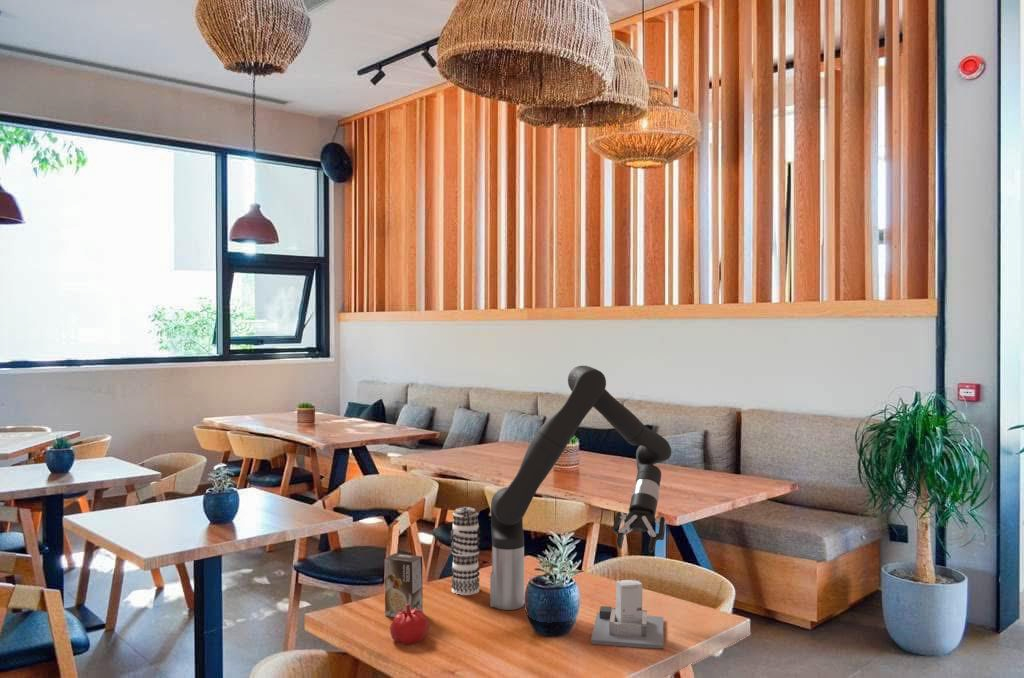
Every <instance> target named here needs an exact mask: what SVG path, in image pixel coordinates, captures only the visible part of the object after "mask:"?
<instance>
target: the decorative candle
mask: <svg viewBox="0 0 1024 678" xmlns="http://www.w3.org/2000/svg"><path fill="white" fill-rule="evenodd" d="M479 514H480V513H479V512H478V511H477V510H476V509H475V508H474V507H472V506H461V507H456V508H455V510H454V511H453V512H452V513H451V515H452V516H453V517H452V521H453V522H452V530H450V540H451V541H452V542H451V544H450V545H451V548H450V551H451V554H452V557H453V558H452V559H453V560H452V566H451V576H452V578H451V580H450V581H451V586H450V587H451V592H452V594H454V593H456V594H455V595H457V594H460V595H459V596H470V595H471V596H472V595H476V594H478V593H479V592H480V588H479V587H480V577H479V576H480V572H479V571H480V567H479V560H478V559H479V558H478V557H479V554H480V548H479V547H478V546H480V545H481V542H480V541H479V540H481V537H480V536H479V535H480V533H481V530H480V529H481V525H479V519H478V518H479V516H478V515H479Z"/></svg>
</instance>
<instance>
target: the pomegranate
mask: <svg viewBox="0 0 1024 678" xmlns="http://www.w3.org/2000/svg"><path fill="white" fill-rule="evenodd" d="M406 607H407V611H403V610H401V609H398V610H396V611H401V612H400V613H398V614H397V615H396V617H393V620H392V622H391V624H390V626H389V630H390V636H391V638H392V640H394V641H395V642H396V643H398V644H402V645H407V646H409V645H413V644H416V643H419V642H421V641H422V640H424V638H426V636H427V635H428V633H429V629H430V622H429V619H428V618H427V616H426V615H425V612H424V611H423V612H421V611H420V610H416V609H420V608H415V609H414V610H410V604H407V605H406Z"/></svg>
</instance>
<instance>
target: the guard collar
mask: <svg viewBox="0 0 1024 678" xmlns="http://www.w3.org/2000/svg"><path fill="white" fill-rule="evenodd" d="M647 616H648V610H646V609H642V624H638V623H624V622H616V607H612V610H611V616H610V621H609V635H619V636H633V637H646V631H647Z"/></svg>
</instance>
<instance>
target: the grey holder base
mask: <svg viewBox="0 0 1024 678" xmlns="http://www.w3.org/2000/svg"><path fill="white" fill-rule="evenodd" d="M612 608H613V607H612V606H605V605H601V606H600V609H599V612H596V616H595V621H594V625H593V629H592V634H591V639H590V644H591V645H602V646H603V645H604V646H614V647H617V646H618V647H629V648H644V649H654V648H663V649H664V616H657V615H655V616H654V615H647V631H646V637H633V636H619V635H609V621H610V616H611V610H612Z"/></svg>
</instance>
